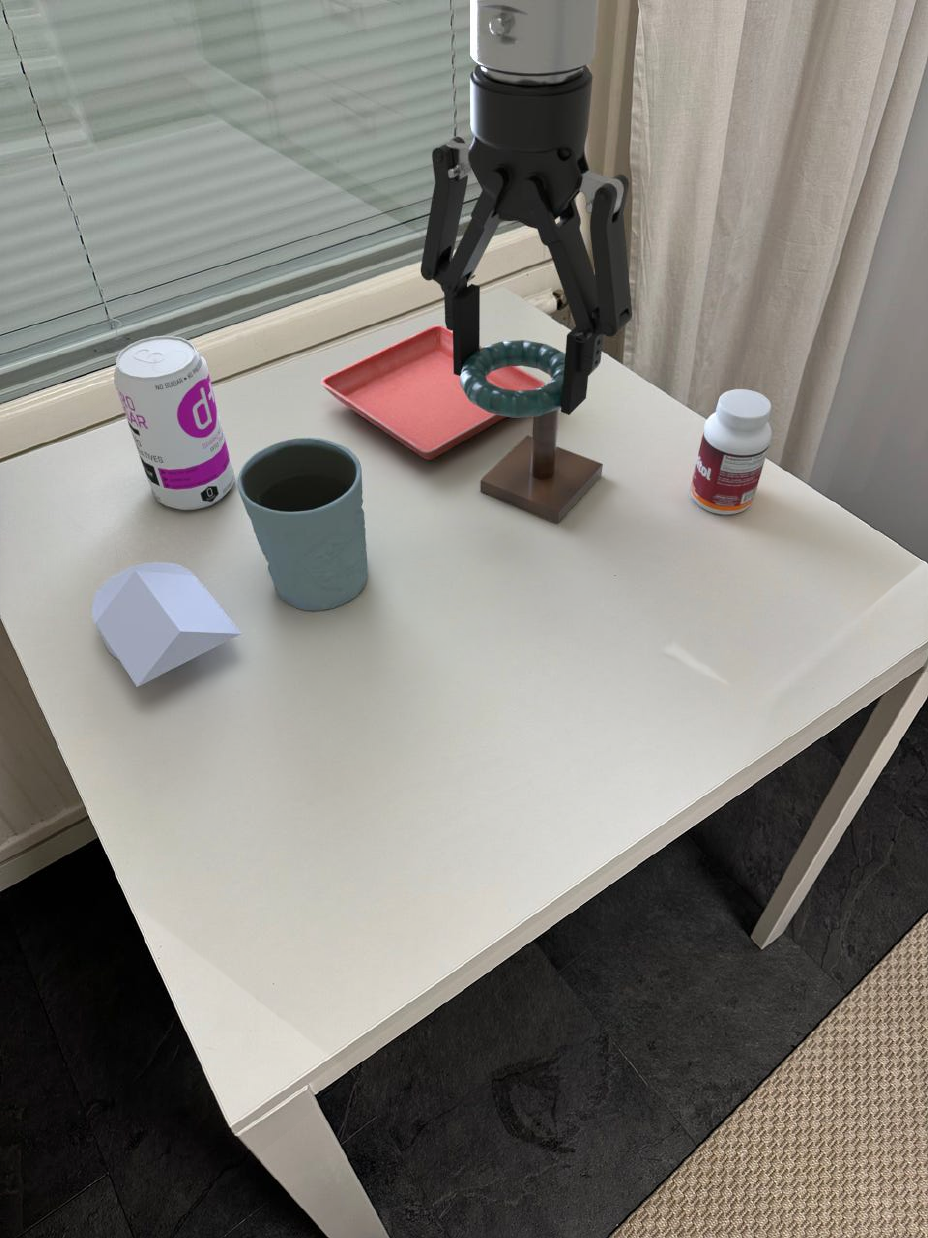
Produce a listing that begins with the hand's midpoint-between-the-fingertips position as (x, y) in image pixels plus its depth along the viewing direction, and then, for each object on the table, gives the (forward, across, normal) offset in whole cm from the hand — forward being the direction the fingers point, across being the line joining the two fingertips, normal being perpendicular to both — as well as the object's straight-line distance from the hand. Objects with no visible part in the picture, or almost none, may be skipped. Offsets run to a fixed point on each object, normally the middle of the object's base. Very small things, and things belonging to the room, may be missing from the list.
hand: (518, 385), depth 71 cm
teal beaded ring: (-1, 0, 0) cm, 1 cm away
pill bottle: (+18, +14, +18) cm, 29 cm away
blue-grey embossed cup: (+18, -13, -13) cm, 26 cm away
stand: (+18, -3, +10) cm, 21 cm away
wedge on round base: (+18, -19, -26) cm, 37 cm away
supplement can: (+18, -32, -10) cm, 38 cm away
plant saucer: (+18, -20, +15) cm, 31 cm away
